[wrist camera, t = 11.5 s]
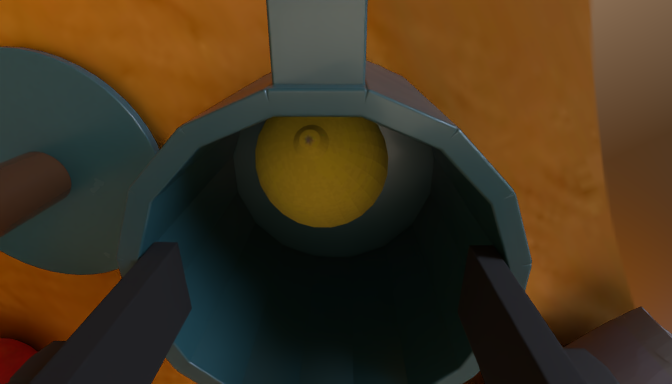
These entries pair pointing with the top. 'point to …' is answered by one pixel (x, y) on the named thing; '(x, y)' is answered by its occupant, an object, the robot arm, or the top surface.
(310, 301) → the pot
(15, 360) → the apple
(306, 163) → the lemon
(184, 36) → the top surface
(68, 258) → the lid
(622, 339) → the bluetooth speaker
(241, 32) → the top surface
